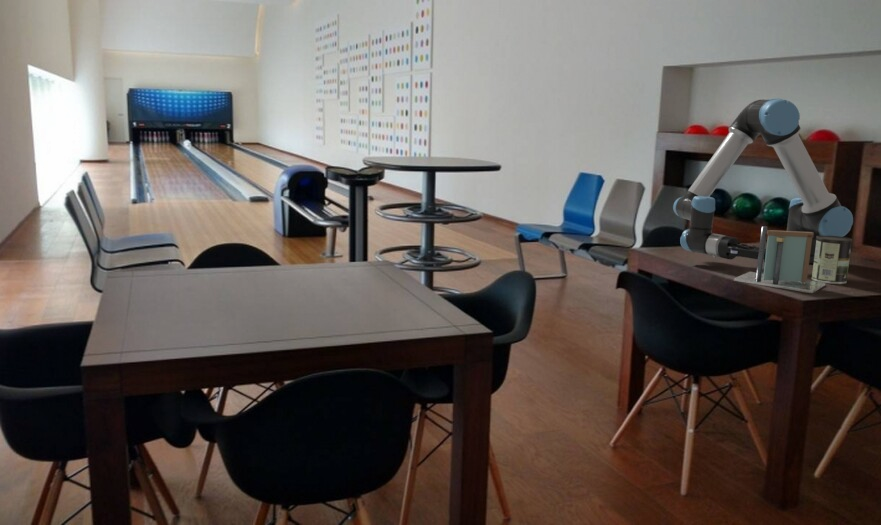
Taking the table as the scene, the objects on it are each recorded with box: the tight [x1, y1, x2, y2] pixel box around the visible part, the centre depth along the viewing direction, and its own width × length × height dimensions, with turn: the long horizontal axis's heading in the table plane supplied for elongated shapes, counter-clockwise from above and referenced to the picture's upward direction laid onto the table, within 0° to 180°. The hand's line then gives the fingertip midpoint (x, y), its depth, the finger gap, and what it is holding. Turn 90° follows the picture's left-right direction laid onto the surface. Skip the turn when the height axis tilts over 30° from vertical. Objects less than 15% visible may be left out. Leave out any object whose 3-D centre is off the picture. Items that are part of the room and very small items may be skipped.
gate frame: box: [733, 226, 826, 294], centre depth 231 cm, size 15×23×18 cm, turn 50°
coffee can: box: [811, 236, 854, 285], centre depth 237 cm, size 10×10×14 cm
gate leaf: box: [762, 229, 814, 282], centre depth 228 cm, size 13×2×15 cm, turn 83°
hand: (789, 259), depth 229 cm, fingers closed
